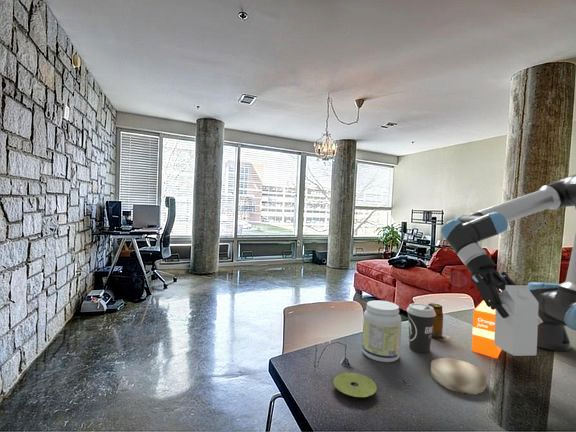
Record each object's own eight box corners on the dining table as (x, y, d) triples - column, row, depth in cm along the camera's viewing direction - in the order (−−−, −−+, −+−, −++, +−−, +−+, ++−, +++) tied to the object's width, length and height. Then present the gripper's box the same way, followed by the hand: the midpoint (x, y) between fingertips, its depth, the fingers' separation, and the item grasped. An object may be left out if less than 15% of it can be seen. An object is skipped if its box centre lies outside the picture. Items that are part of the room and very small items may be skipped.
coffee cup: (421, 357, 101) (423, 312, 101) (399, 345, 110) (400, 304, 110) (440, 352, 106) (442, 309, 106) (417, 341, 114) (419, 301, 114)
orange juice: (501, 350, 109) (504, 294, 109) (497, 358, 103) (500, 299, 102) (476, 343, 114) (479, 290, 114) (471, 350, 108) (473, 294, 108)
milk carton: (493, 345, 92) (496, 282, 92) (515, 344, 93) (518, 282, 92) (513, 356, 85) (515, 288, 85) (536, 356, 86) (539, 288, 85)
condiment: (429, 330, 126) (430, 301, 126) (451, 337, 119) (452, 306, 119) (420, 334, 121) (422, 304, 121) (442, 341, 115) (444, 310, 114)
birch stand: (480, 374, 92) (481, 364, 92) (491, 399, 79) (491, 388, 79) (429, 363, 97) (430, 354, 97) (431, 386, 85) (431, 375, 85)
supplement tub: (369, 343, 111) (371, 297, 111) (404, 353, 104) (406, 304, 104) (356, 355, 101) (358, 305, 101) (393, 367, 94) (396, 313, 94)
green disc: (385, 400, 77) (385, 393, 77) (345, 407, 74) (345, 399, 74) (362, 377, 88) (362, 370, 88) (326, 381, 85) (326, 374, 85)
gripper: (490, 265, 107) (540, 327, 92) (444, 268, 99) (492, 336, 84) (506, 252, 102) (562, 315, 87) (460, 254, 94) (513, 324, 79)
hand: (527, 326), depth 86 cm, fingers closed on milk carton, 9 cm apart
